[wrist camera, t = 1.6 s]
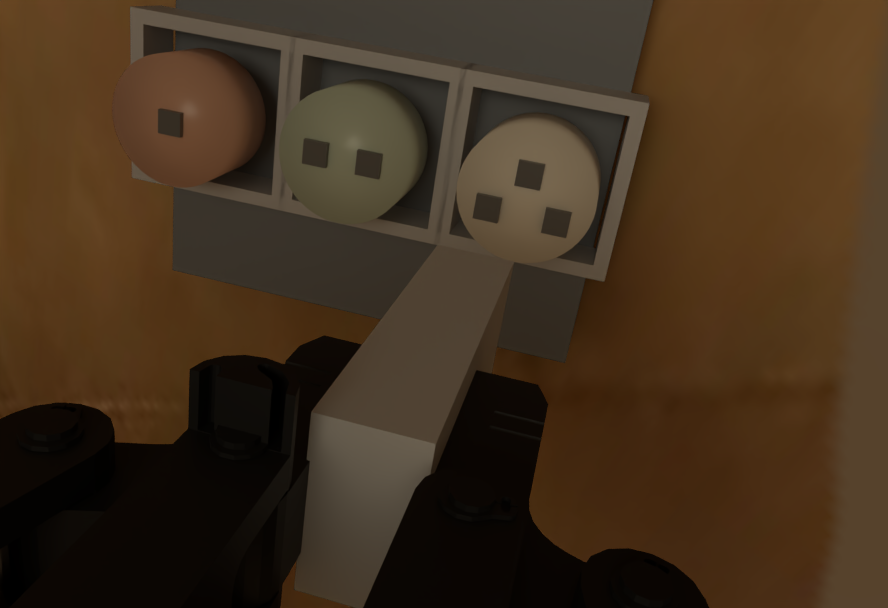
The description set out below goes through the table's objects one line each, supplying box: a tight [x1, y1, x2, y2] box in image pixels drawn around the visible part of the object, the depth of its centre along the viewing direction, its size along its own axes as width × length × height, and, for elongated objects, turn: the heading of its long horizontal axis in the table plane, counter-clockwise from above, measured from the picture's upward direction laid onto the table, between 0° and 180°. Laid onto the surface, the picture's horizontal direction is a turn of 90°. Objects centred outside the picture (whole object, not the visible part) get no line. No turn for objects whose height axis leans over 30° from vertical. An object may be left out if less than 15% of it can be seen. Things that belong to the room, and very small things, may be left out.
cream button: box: [456, 112, 601, 263], centre depth 25 cm, size 4×4×3 cm
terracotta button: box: [112, 48, 266, 188], centre depth 27 cm, size 4×4×3 cm
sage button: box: [279, 79, 428, 224], centre depth 26 cm, size 4×4×3 cm
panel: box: [130, 0, 653, 363], centre depth 29 cm, size 18×15×4 cm
